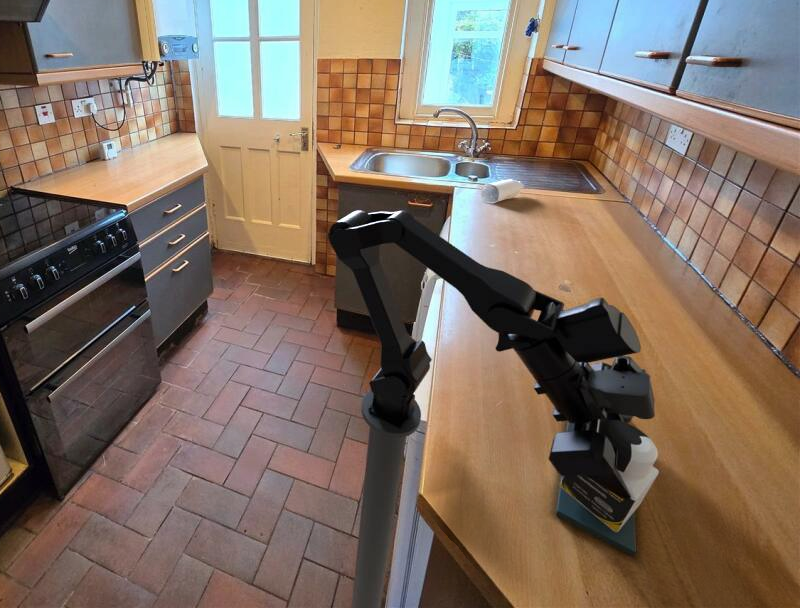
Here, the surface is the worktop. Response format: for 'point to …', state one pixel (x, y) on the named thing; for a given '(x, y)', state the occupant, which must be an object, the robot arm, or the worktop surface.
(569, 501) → the tray
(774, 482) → the worktop surface
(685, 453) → the worktop surface
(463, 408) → the worktop surface
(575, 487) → the medicine bottle
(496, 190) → the white bottle
